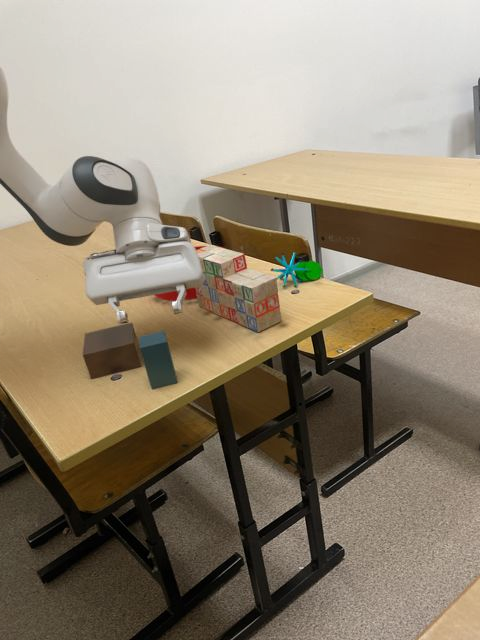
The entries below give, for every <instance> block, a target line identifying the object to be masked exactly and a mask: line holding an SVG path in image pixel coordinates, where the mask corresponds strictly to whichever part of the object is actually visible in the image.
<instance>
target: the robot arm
mask: <svg viewBox="0 0 480 640" xmlns="http://www.w3.org/2000/svg"><path fill="white" fill-rule="evenodd" d="M8 86H9V85H8V83H7V78H6V75H5V73H4V71H3V68H2V67H1V66H0V186H1V187H3V188H4V189H5V190H6V191H7V192H8V193H9V195H11V196H12V197H13V199H15V200H16V202H18V204H20V205H21V206H22V208H23V209H25V211H26V212H27V213H28V214H29V216H30V217H31V218H32V220H33V221H34V223H35V224H36V226H37V227H38V229H40V230H41V232H42V233H43V234H44V235H45V236H46V237H47V238H49V239H50V240H51V241H53V242H55V243H57V244H60V245H63V246H67V247H77V246H81V245H83V244H84V243H86V242H87V241H88V240H89V238H91V236H92V235H93V234H94V232H95V231H96V229H97V228H98V227H100V226H101V224H103V223H104V222H105V223H106V222H107V223H109V224H111V226H112V233H113V241H114V249H109V250H105V251H101V252H92V253H91V254H90V255H89V256H88V257H86V258H85V259H84V260H83V263H82V267H83V274H84V276H85V295H86V297H87V299H88V300H89V301H90V302H91V303H93V304H94V305H96V306H99V305H106V304H109V305H108V306H110V307H111V308H112V310H113V311H114V312H115V314H116V320H117V323H118V324H119V325H124V324H128V323H129V319H128V318H129V315H128V313H127V311H126V310H120V309H119V308H118V307H120V306H121V305H120V304H121V302H122V301H128V300H134V299H140V298H144V297H151V296H155V295H156V294H162V293H167V292H173V291H177V292H178V294H179V295H178V298H177V301H171V306H172V312H173V315H178V314H183V313H184V312H183V311H184V308H183V304H184V302H185V300H184V299H185V297H186V295H187V293H186V289H190V288H195V287H200V286H202V285H203V283H204V281H205V279H204V274H203V270H202V266H201V263H200V260H199V257H198V254H197V252H196V249H195V248H194V247H195V245H193V243H192V240H191V237H190V234H189V232H188V230H187V229H186V228H185V227H182V226H174V225H166V224H164V223H163V222H162V220H161V217H160V214H161V202H160V197H159V192H158V186H157V183H156V180H155V178H154V175H153V173H152V171H151V170H150V168H149V166H148V165H147V164H146V163H145V162H143V160H140V159H138V158H135V157H129V156H125V157H119V158H116V159H115V160H107V159H104V158H103V157H102V158H101V157H98V156H94V155H85V156H81V157H79V158H77V159H76V160H75V161H74V162H73V163H72V164H71V165H70V166H69V168H67V170H65V172H64V173H63V174H62V176H61V177H60V178H59V180H57V182H56V183H55V184H54V185H51V184H49V183H48V182H47V181H46V180H45V179H44V177H43V176H42V175H41V174H40V173H39V172H38V171H37V170H36V169H35V168H34V167H33V166H32V165H31V164H30V163H29V162H28V161H27V160H26V158H24V156H22V154H21V153H20V152H19V151H18V150H17V149H16V147H15V145H14V143H13V142H12V139H11V137H10V132H9V128H8V127H9V126H8V108H9V88H8Z"/></svg>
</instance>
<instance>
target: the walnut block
mask: <svg viewBox="0 0 480 640" xmlns="http://www.w3.org/2000/svg"><path fill="white" fill-rule="evenodd" d="M136 333H137V332H136V330H135V326H134V323H133V322H128V323H125V324H119V325H116V326H112V327H107V328H103V329H99V330H98V329H97V330H95V331H90V332H86V333H85V332H84V340H83V348H82V358H83V360H84V363H85V366H86V369H87V371H88V374H89V377H90V380H92V379H98V378H101V377H106V376H110V375H113V374H117V373H121V372H125V371H129V370H133V369H137V368H141V367H142V361H141V351H140V346H139V339H138V336H137V334H136Z"/></svg>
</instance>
